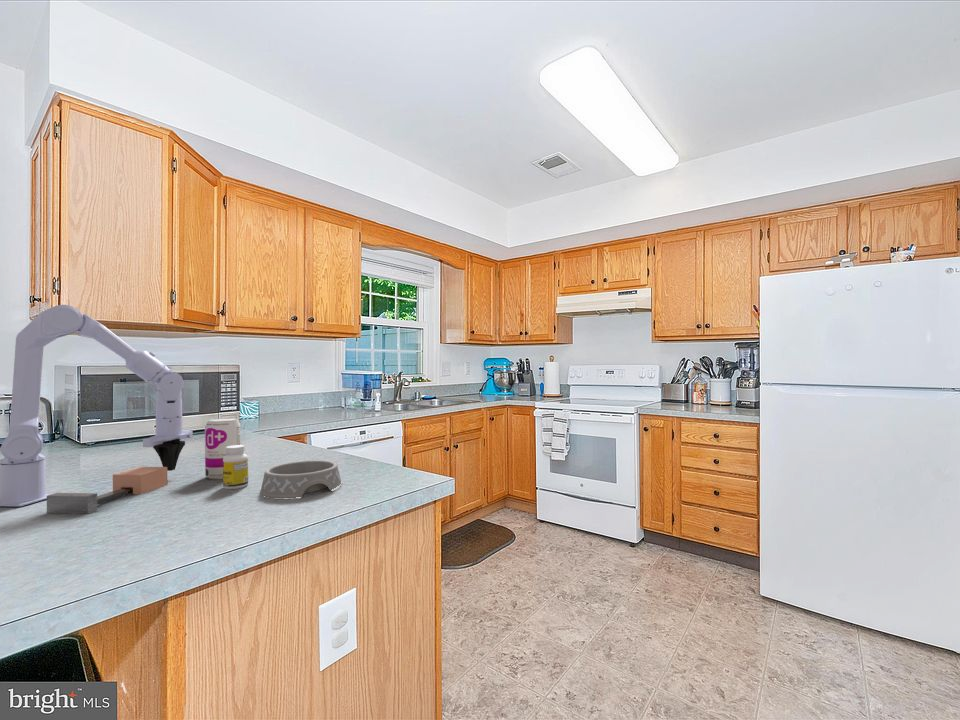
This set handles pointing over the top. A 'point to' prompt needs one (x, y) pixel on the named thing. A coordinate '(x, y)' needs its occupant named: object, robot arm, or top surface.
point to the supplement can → (219, 444)
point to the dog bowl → (299, 478)
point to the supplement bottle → (235, 467)
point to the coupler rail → (79, 501)
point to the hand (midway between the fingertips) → (169, 470)
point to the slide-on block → (140, 479)
